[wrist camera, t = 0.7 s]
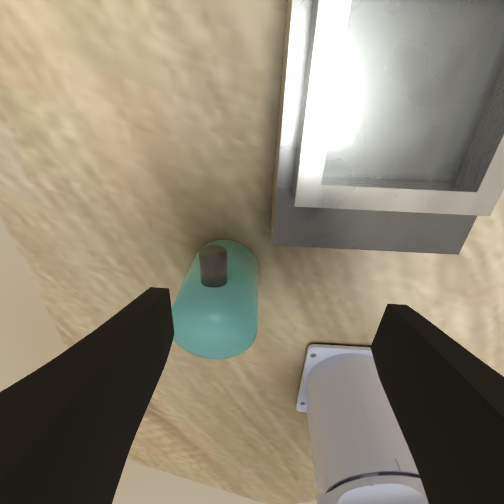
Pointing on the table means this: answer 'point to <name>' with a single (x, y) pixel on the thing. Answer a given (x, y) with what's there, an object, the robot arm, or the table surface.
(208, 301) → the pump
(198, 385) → the table surface
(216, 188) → the table surface
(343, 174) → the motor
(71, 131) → the table surface
